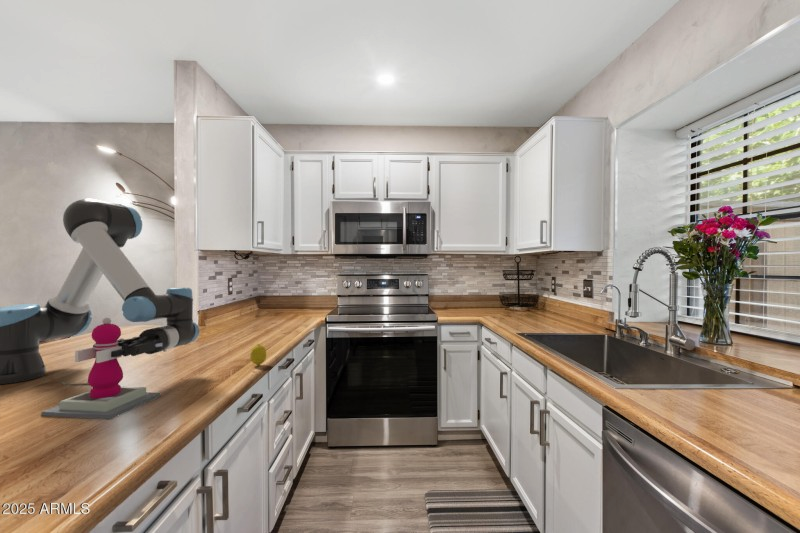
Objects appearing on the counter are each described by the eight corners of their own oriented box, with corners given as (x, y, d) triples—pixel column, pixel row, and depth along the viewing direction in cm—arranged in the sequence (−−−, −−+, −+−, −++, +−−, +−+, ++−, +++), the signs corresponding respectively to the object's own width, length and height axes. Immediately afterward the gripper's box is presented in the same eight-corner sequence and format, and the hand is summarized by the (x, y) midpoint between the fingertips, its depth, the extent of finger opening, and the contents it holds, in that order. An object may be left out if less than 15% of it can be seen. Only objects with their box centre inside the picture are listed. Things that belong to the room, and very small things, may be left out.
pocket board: (41, 415, 89) (41, 403, 89) (101, 393, 104) (101, 383, 104) (109, 419, 87) (110, 406, 87) (160, 396, 103) (160, 385, 103)
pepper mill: (129, 390, 99) (131, 316, 99) (105, 400, 92) (107, 319, 92) (105, 389, 100) (106, 315, 100) (79, 398, 92) (80, 319, 93)
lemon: (262, 367, 134) (263, 345, 134) (247, 367, 134) (248, 345, 134) (268, 364, 139) (268, 342, 139) (254, 363, 139) (254, 342, 139)
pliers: (89, 374, 123) (138, 378, 118) (89, 376, 122) (138, 380, 118) (56, 382, 113) (109, 387, 109) (56, 385, 113) (108, 390, 109)
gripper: (185, 352, 113) (120, 373, 90) (131, 350, 115) (53, 371, 91) (185, 328, 113) (121, 342, 90) (131, 326, 115) (54, 340, 91)
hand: (87, 356), depth 91 cm, fingers closed on pepper mill, 5 cm apart
